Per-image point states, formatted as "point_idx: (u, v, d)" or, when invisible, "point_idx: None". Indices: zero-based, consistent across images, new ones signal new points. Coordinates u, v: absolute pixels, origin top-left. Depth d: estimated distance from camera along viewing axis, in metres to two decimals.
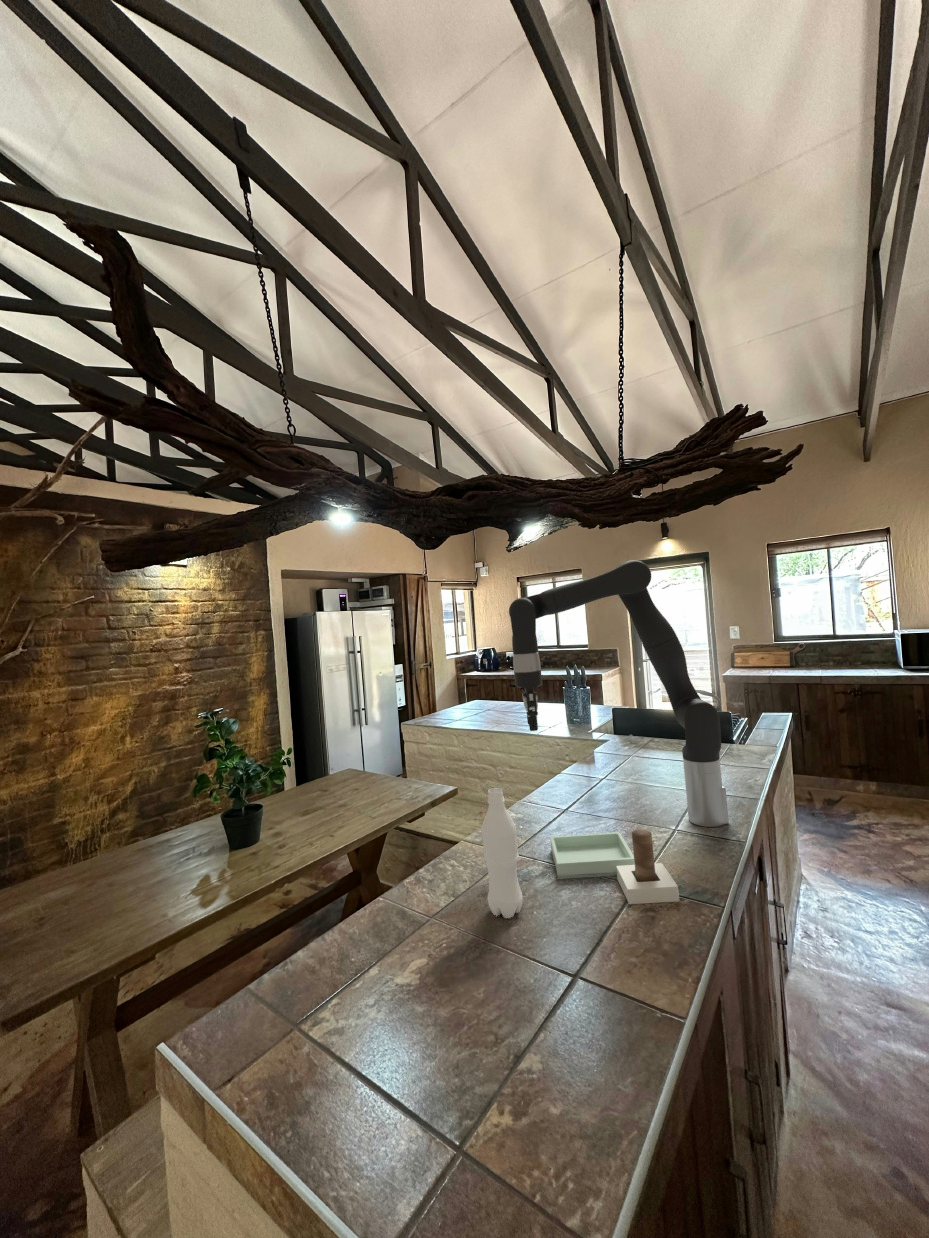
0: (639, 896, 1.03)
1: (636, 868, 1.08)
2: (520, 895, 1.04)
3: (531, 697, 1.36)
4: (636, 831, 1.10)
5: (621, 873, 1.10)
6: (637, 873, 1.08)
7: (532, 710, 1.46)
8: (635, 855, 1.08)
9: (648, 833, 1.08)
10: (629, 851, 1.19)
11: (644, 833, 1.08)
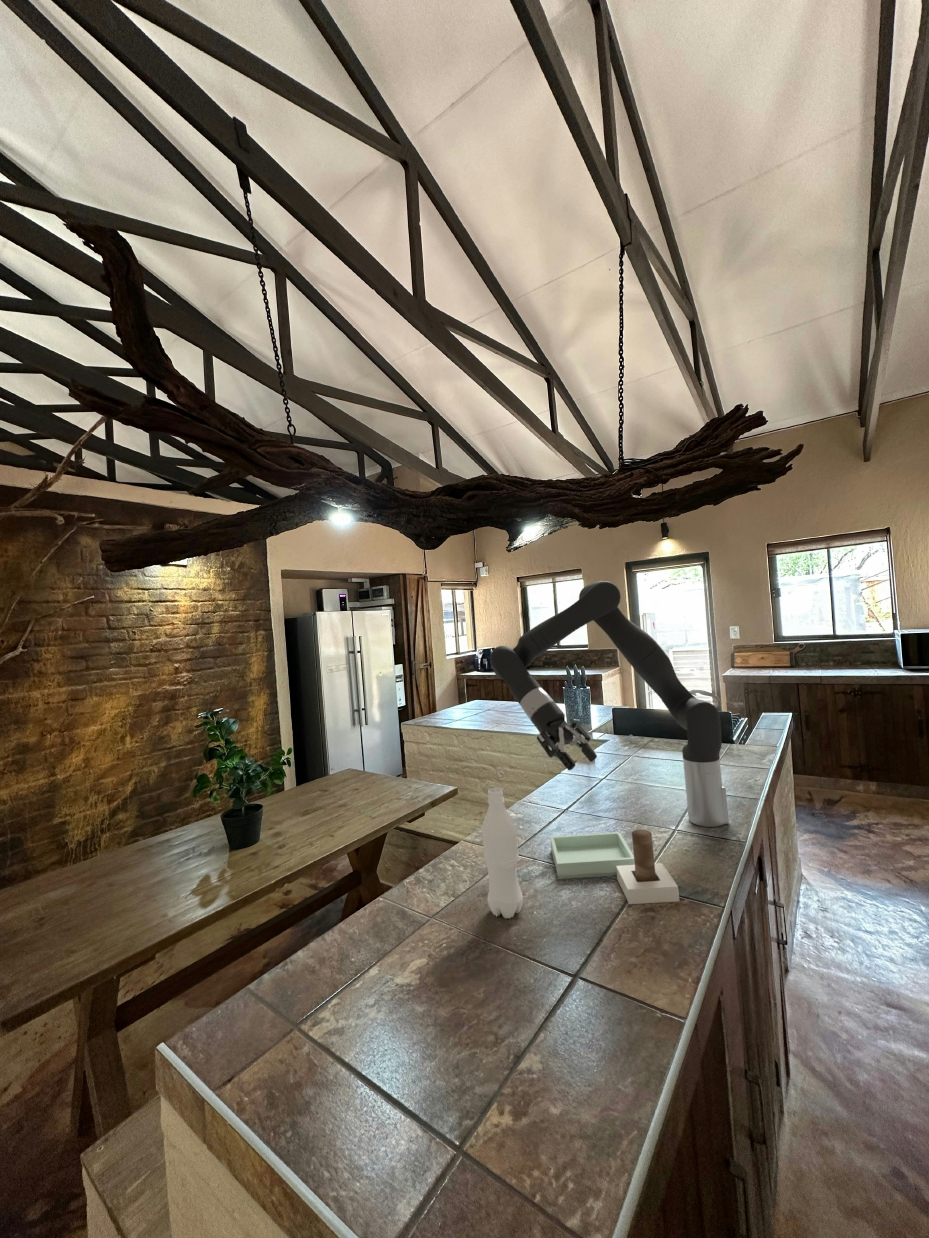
0: (639, 896, 1.03)
1: (636, 868, 1.08)
2: (520, 895, 1.04)
3: (540, 737, 1.19)
4: (636, 831, 1.09)
5: (621, 873, 1.10)
6: (637, 873, 1.08)
7: (584, 744, 1.23)
8: (635, 855, 1.08)
9: (648, 833, 1.08)
10: (629, 851, 1.19)
11: (644, 833, 1.08)
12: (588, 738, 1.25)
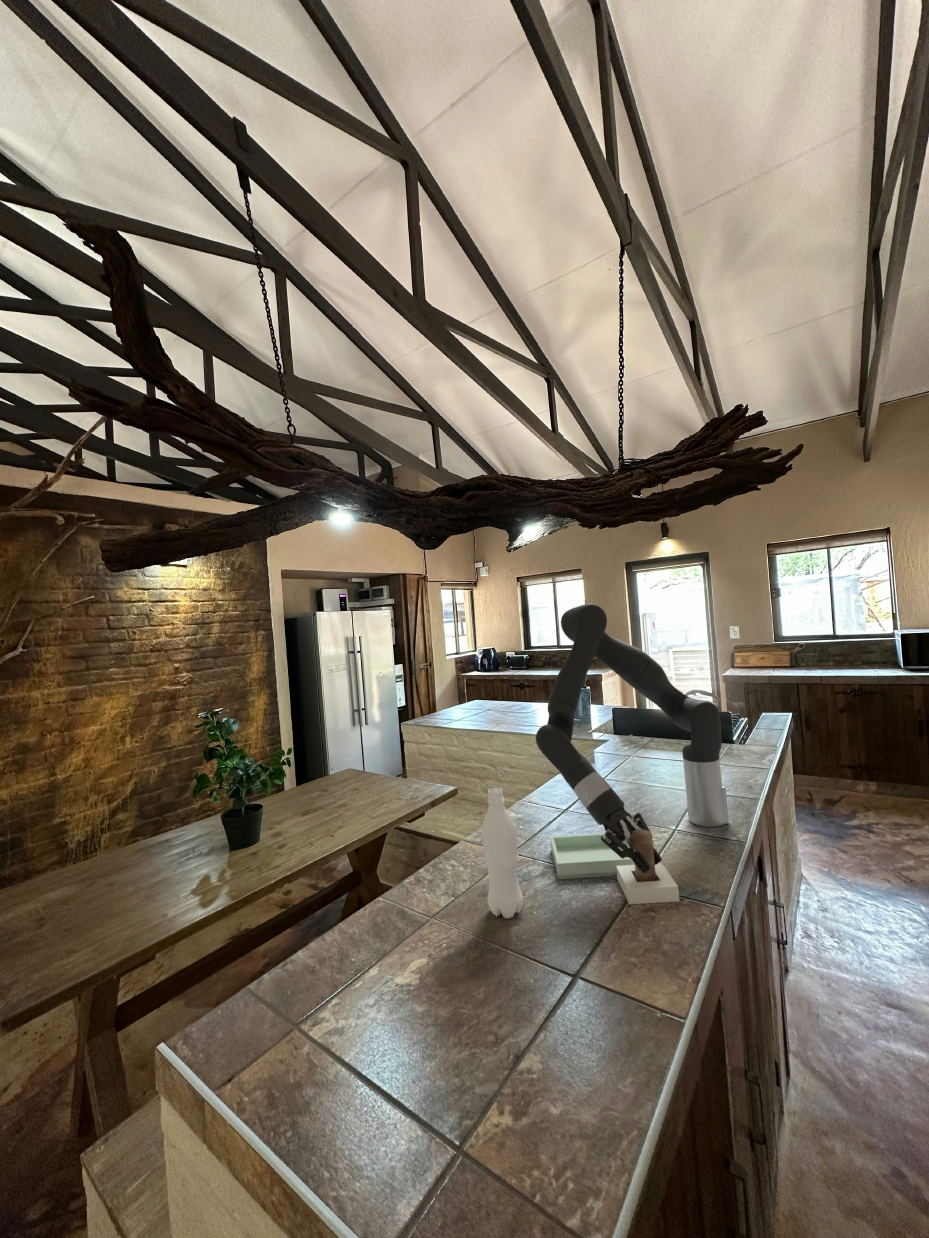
0: (639, 896, 1.03)
1: (636, 868, 1.08)
2: (520, 895, 1.04)
3: (607, 839, 1.07)
4: (636, 831, 1.09)
5: (621, 873, 1.10)
6: (637, 873, 1.08)
7: None
8: None
9: (648, 833, 1.08)
10: None
11: (645, 833, 1.08)
12: None
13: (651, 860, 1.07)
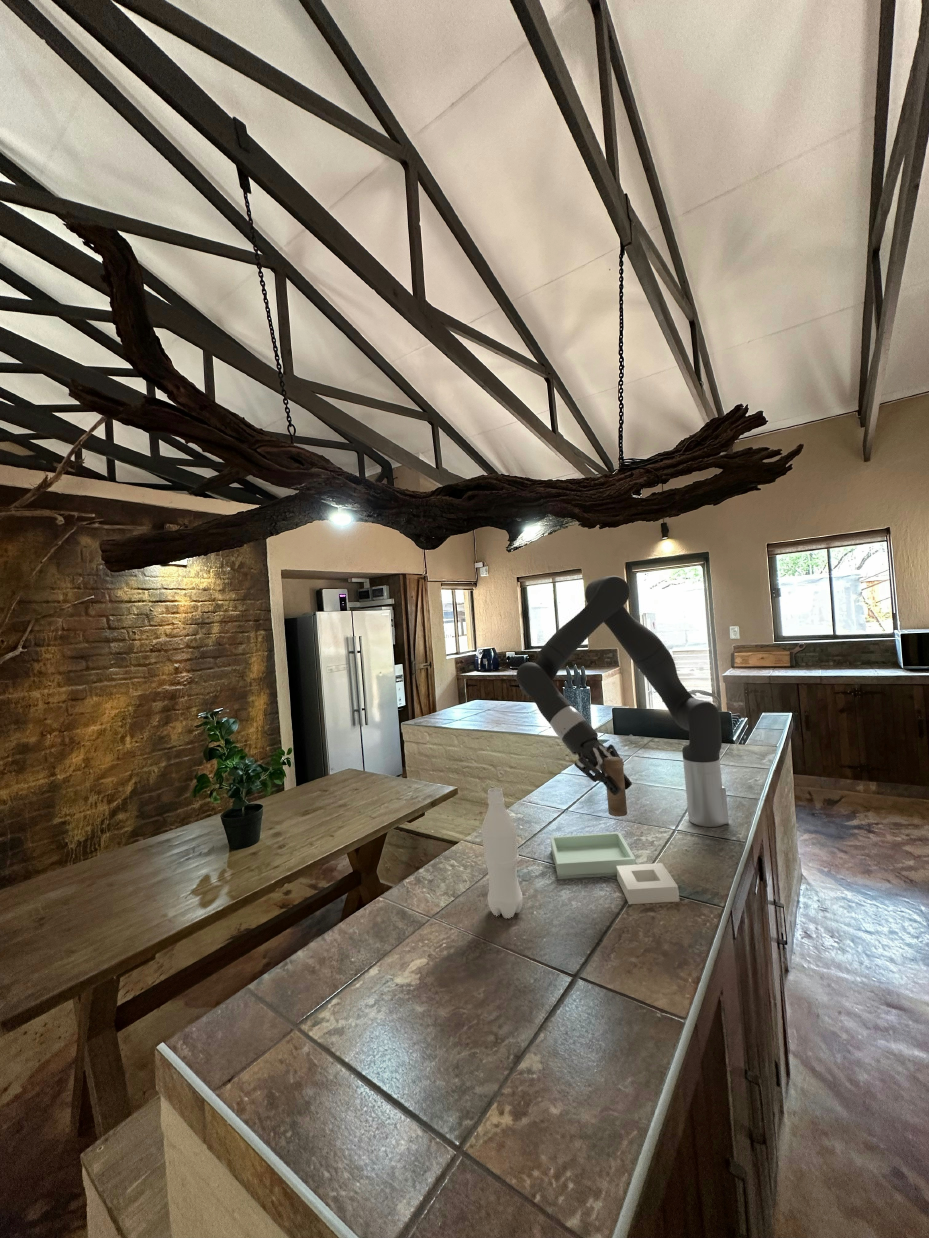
0: (639, 896, 1.03)
1: (608, 792, 1.13)
2: (520, 895, 1.04)
3: (580, 764, 1.13)
4: (608, 758, 1.15)
5: (621, 873, 1.10)
6: (608, 797, 1.13)
7: None
8: None
9: (620, 759, 1.13)
10: (629, 851, 1.19)
11: (616, 759, 1.14)
12: None
13: (622, 784, 1.12)
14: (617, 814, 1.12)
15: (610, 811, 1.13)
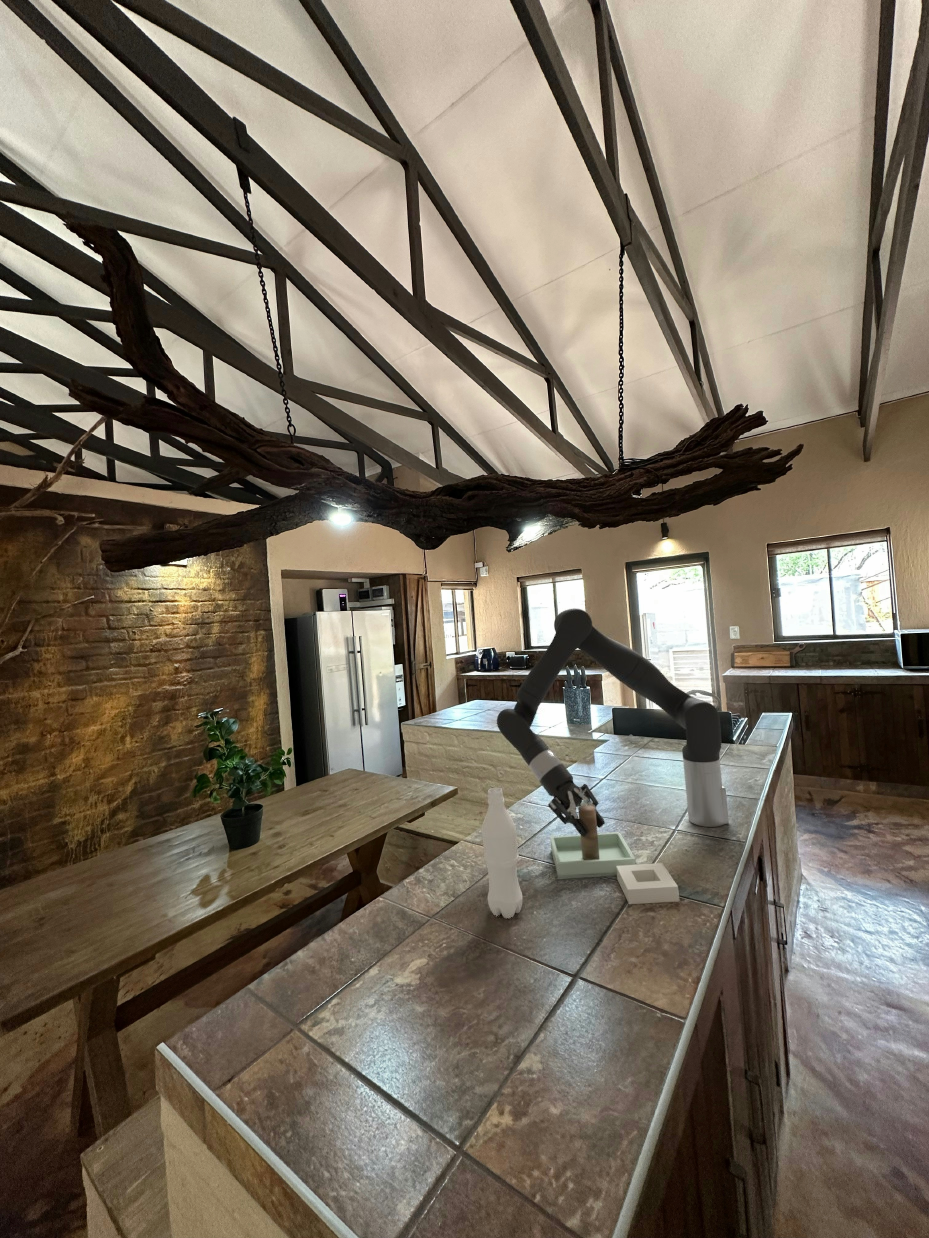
0: (639, 896, 1.03)
1: (581, 839, 1.22)
2: (520, 895, 1.04)
3: (553, 805, 1.22)
4: (582, 807, 1.24)
5: (621, 873, 1.10)
6: (582, 843, 1.22)
7: None
8: None
9: (592, 809, 1.22)
10: (629, 851, 1.19)
11: (589, 808, 1.23)
12: (595, 803, 1.27)
13: (594, 832, 1.21)
14: None
15: (583, 856, 1.22)
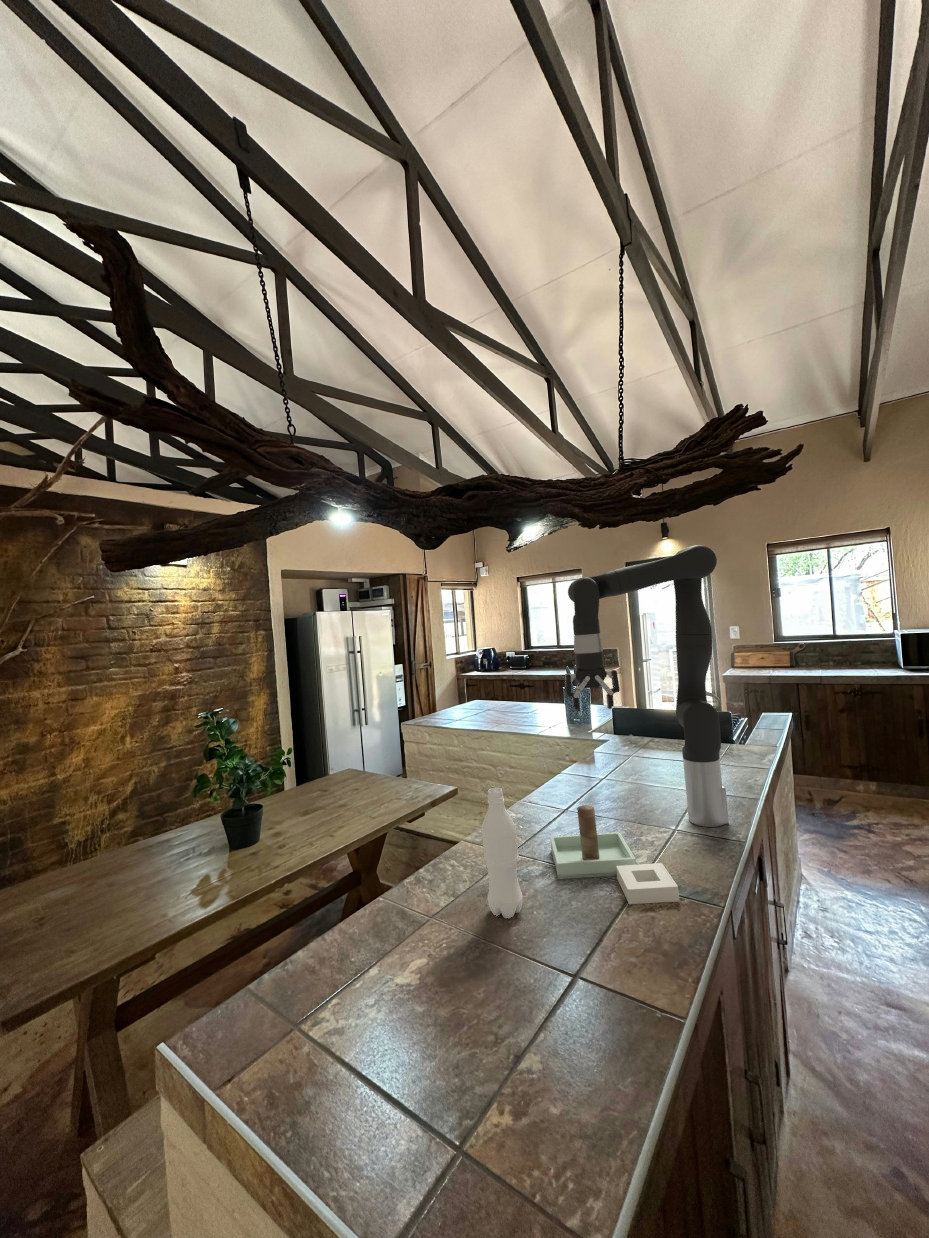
0: (639, 896, 1.03)
1: (581, 839, 1.22)
2: (520, 895, 1.04)
3: (565, 677, 1.40)
4: (581, 806, 1.24)
5: (621, 873, 1.10)
6: (582, 843, 1.22)
7: (608, 694, 1.39)
8: (579, 827, 1.22)
9: (591, 808, 1.22)
10: (629, 851, 1.19)
11: (588, 808, 1.23)
12: (616, 690, 1.38)
13: (593, 831, 1.21)
14: None
15: (583, 856, 1.22)
